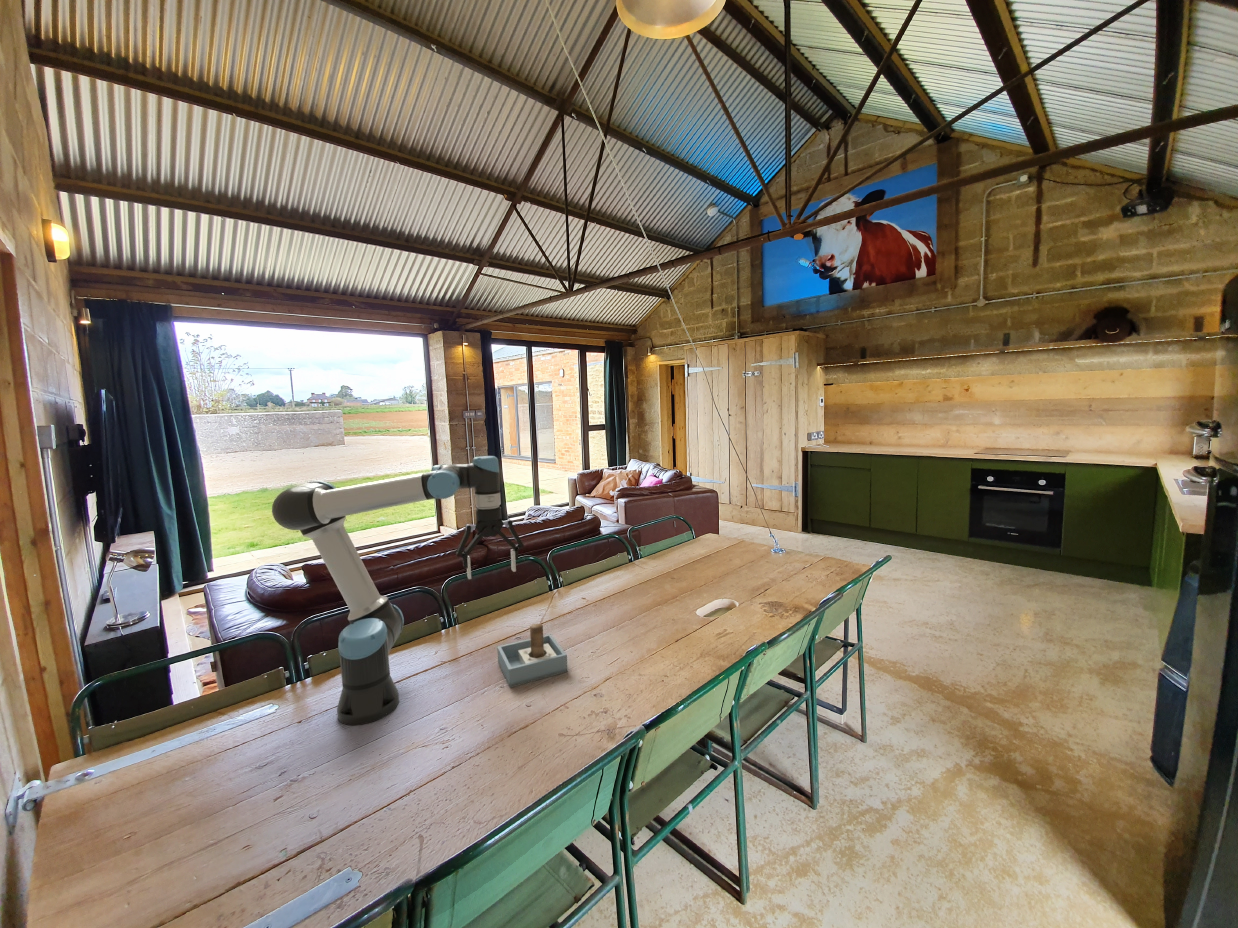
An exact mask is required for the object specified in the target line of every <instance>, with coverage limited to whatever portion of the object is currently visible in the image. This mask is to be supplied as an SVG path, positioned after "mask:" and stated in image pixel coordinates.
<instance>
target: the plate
mask: <svg viewBox="0 0 1238 928" xmlns="http://www.w3.org/2000/svg"><path fill="white" fill-rule="evenodd" d="M553 656H557V655H556V654H555V652H554V651H553V649H552V648H551V647H550V645H549V644H548V643H547V644H544V657H540V658H531V647H530V648H526V649H522V650H518V657H519V661H520V663H521V664H526V663H530V662H534V661H538V660H542V659H546V658H550V657H553Z"/></svg>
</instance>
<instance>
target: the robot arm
mask: <svg viewBox="0 0 1238 928" xmlns="http://www.w3.org/2000/svg"><path fill="white" fill-rule="evenodd" d="M500 476H501V474H500V465H499V459H498V457H497V456H495V455H482V456H475V457H473V459H472V462H471V463H465V464H464V463H458V464H457V463H455V464H454V463H452V464H446V463H444V464H436V465H433V466H432V467H431V469H430V471H427V472H426V471H425V472H422V473H416V474H410V475H405V476H399V477H394V478H388V479H383V480H378V481H373V482H372V481H370V482H365V483H361V484H355V485H351V486H350V485H349V486H344V487H338V488H337V487H336V486H334V484H332V483H329V482H326V481H322V480H316V481H308V482H304V483H302V484H299V485H296V486H293V487H290V488H288V489H285V490H283V491H282V492H280V493H279V494H278V495H277V496H276V497H275V499H274V500H273V503H272V506H271V514H272V516H273V519H274V521H275V522H276V523H277V524H278V526H281V527H282V528H284V529H287V530H291V531H300V533H301V534H302V536H303V537H305V538H309V539H311V540H312V542H313V544H314V546H315V548H316V549H317V552H318V553H319V555H320V556H321V559H322V560H323V562H324V565H325V567H326V568H327V570H328V572H329V573H330V576H331V577H332V579H333V581H334V583H335V585H336V586H337V588H338V590H339V592H340V595H341V596H342V598H343V600H344V602H345V603H346V605H347V607H348V609H349V614H348V617H347V621H348V622H349V624H348V625H347V626H345V627H344V628H343V629H342V630H341V632H340V633H339V635H338V644H337V645H338V647H337V649H338V653H339V664H340V672H341V673H340V674H341V675H340V676H341V683H342V684H341V685H342V687H341V688H342V689H341V693H340V695H339V700H338V702H337V703H338V704H337V707H336V710H337V711H336V712H337V714H336V715H337V720H338V721H339V722H340V723H342V724H344V725H349V726H357V725H358V726H359V725H360V726H361V725H364V724H369V723H372V722H375V721H377V720H380V719H382V718H384V717H386V716H387V715H389V714H391V712H392V711H394V710H395V709H396V708H397V706H398V705H399V702H400V696H399V690H398V689H397V685H396V684H395V682H394V680H393V678H392V676H391V671H390V670H391V669H390V659H389V656H390V652H391V649H392V648H393V647H394V645H395V643H396V641H397V640H398V639H399V637H400V635H401V634H402V631H403V627H404V624H405V623H404V622H405V619H404V615H403V612H402V610H401V609H400V608H399V607H398V606H397V605H396V604H392V603H391V602H390V599H389V597H388V596H385V595H381V594H380V593H379V590H378V589H377V587H376V585H375V583H374V581H373V579H372V578H371V576H370V573H369V572H368V570H367V568H366V566H365V564H364V562H363V560H362V558H361V557H360V554H359V552H358V550H357V549H356V547H355V545H354V543H353V541H352V539H351V537H350V535H349V534H348V531H347V529H346V527H345V526H344V525H345V520H346V518H347V517H348V516H351V515H352V516H353V515H356V514H361V513H362V514H363V513H368V512H372V511H377V510H381V509H386V508H392V507H397V506H398V507H399V506H403V505H408V504H409V505H410V504H413V503H418V502H425V501H427V500H436V499H439V500H444V499H449V498H451V497H453V496H455V494H456V493H457V492H458V490H465V489H474V498H475V500H474V503H475V507H476V508H475V520H476V522H475V524H469V523H465V531H464V534H463V536H462V538H461V540H460V543H459V545H458V547H457V549H456V552H455V554H456V556H457V558H462V566H463V569H466V576H467V579H468V580H472V568H471V557H470V556H469V555H470V554H471V553H472V551H473V550H474V549H475V548H476V546H477V545H478V543H479V542H480V541H481V540H482V539H483V538H485V539H487V538H491V537H493V538H495V537H496V536H498V535H499V536H500V537H501V538H502V539H503V540H504V541H505V542H506V543H507V544H508V545H509V546H510V547H511V548H512V549H510V565H511V566H510V568H511V571H512V572H513V573H515V572H517V567H516V566H517V565H516V561H518V560H519V550H520V549H523V548H524V547H525V545H524V543H523V541H522V539H521V538H520V536H519V534H518V533H517V531H516V530H515V528H514V525H513V521H512V519H510V518H507V520H504V521H503V519H502V507H501V506H500V505H501V504H502V500H501V481H500V479H501V477H500ZM346 516H347V517H346ZM503 527H506V528H508V530H509V532H510V533H511V535H512V537H513V538H514V540H515V542H516V543H514V542H513V541H512V540H511V539H510V538H509V537H508V536H507V535H506V534H505V533H504V532H503V531H501V530H502V529H503ZM475 530H476V531H477V533H476V534H475V535H474V538H472V540H471V541H470V543H469V544H468V541H469V539H470V536H471V533H473V531H475ZM467 544H468V545H467ZM466 545H467V546H466ZM465 547H466V548H465Z"/></svg>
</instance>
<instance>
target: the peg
mask: <svg viewBox="0 0 1238 928" xmlns="http://www.w3.org/2000/svg"><path fill="white" fill-rule="evenodd" d="M529 634H530V635H529V636H530V638H529V639H531V658H540V657H544V642H543V636H544V624H541V623H533V624H531V625H530V626H529Z"/></svg>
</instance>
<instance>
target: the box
mask: <svg viewBox="0 0 1238 928" xmlns="http://www.w3.org/2000/svg"><path fill="white" fill-rule="evenodd" d="M543 642H544V644H547V643H548V644H549V645H550V647H551V648H552V649H553V651H554V652H555V654H556V655H557V656H553V657H550V658H546V659H542V660H538V661H534V662H530V663H526V664H521V663H520V661H519V657H518V650H522V649H526V648H530V647H531V639H530V638H528V639H523V640H519V641H515V642H511V643H510V642H509V643H507V644H501V645H497V647H496V648H497V664H498V666H499V667H500V670H501V673H502V674H503V677H504V679H505V680H506V683H507V684H508V687H509V688H512V687H516V686H520V685H523V684H527V683H531V682H535V681H539V680H542V679H545V678H549V677H552V676H556V675H560V674H561V675H562V674H563V673H567V672H568V654H567V653H566V652H565V650H564V649H563V648H562V646H561V645H560V644H559V643H558V641H557V640H556V639H555V638H554V636H553V635H552V634H551V633H549V634H545V635H544V634H543Z"/></svg>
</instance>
